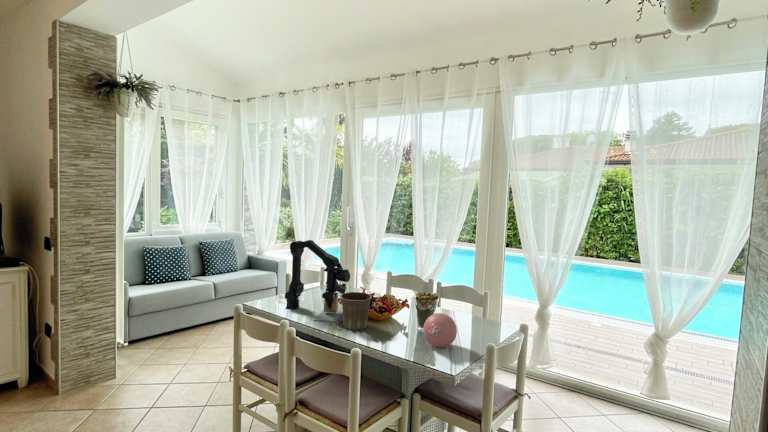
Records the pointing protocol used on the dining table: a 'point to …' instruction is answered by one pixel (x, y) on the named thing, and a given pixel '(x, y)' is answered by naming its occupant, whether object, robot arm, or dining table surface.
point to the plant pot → (355, 310)
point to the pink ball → (440, 330)
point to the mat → (328, 316)
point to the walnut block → (334, 305)
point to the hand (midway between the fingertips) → (330, 307)
